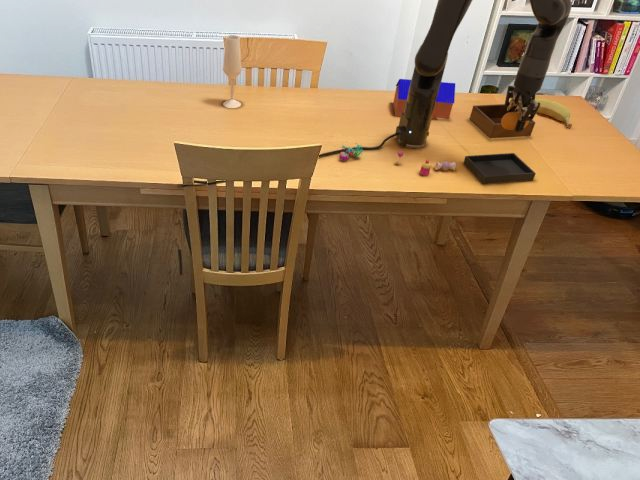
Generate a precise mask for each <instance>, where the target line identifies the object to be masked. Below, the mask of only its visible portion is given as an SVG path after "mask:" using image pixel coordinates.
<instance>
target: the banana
mask: <svg viewBox="0 0 640 480" xmlns="http://www.w3.org/2000/svg"><path fill="white" fill-rule="evenodd" d="M535 101H536V102H537V103H540V107H539V109H538V110H537V112H536V114H542V115H547V116H549V117H551V118H553V119H556V120H558V121H561V122H564V123H566V128H568V129H570V128H572V126H573V124H572V123H571V122H570V118H571V111H570V109H569V108H568V107H567V106H565V105H564V104H562V103H560V102H557V101H554V100H551V99H545V98H535ZM518 107H519V106H518ZM523 109H527V107H526V108H523Z"/></svg>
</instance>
